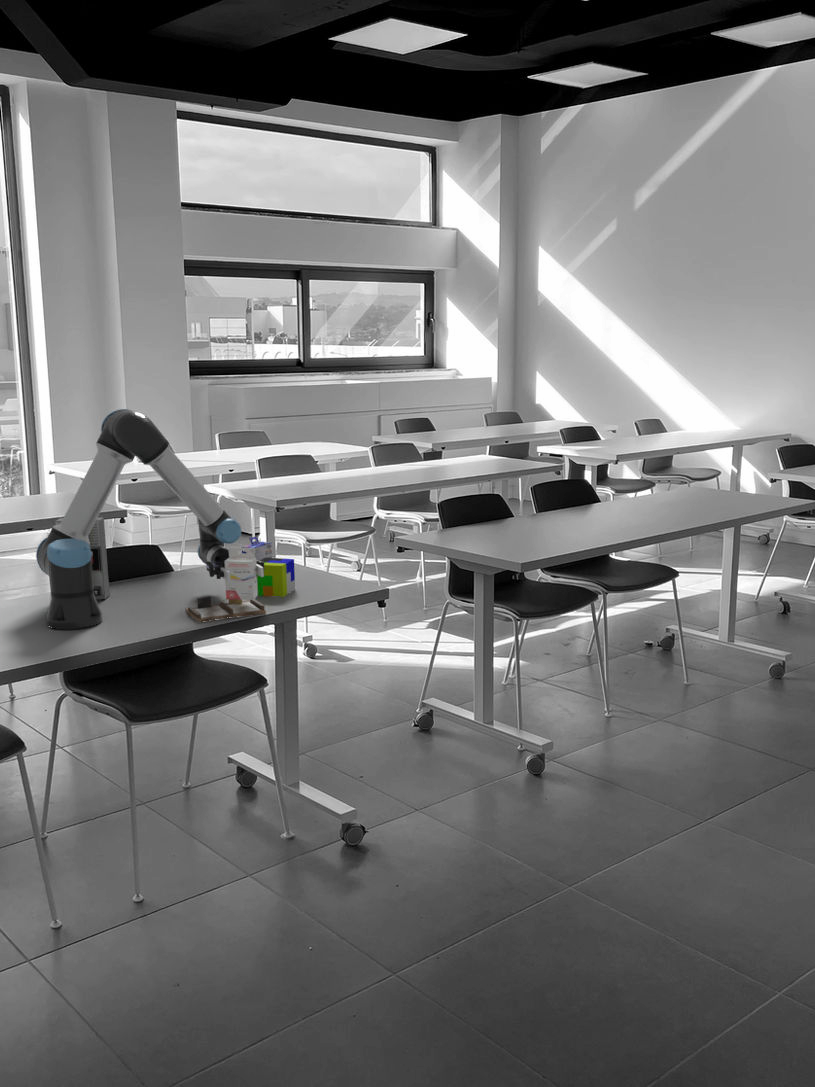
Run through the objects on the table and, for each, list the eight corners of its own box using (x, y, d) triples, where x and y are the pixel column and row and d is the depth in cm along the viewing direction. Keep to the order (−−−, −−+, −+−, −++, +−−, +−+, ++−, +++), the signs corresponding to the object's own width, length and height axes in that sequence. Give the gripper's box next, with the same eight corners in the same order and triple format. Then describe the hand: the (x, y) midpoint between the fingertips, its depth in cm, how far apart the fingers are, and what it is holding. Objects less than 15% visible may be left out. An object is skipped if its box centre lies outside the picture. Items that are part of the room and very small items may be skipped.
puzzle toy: (295, 589, 337) (294, 559, 335) (283, 597, 328) (282, 565, 326) (266, 588, 340) (264, 557, 338) (253, 595, 330) (252, 564, 328)
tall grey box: (60, 601, 327) (53, 521, 322) (66, 596, 333) (59, 518, 328) (104, 600, 327) (98, 520, 322) (110, 595, 333) (104, 517, 328)
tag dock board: (198, 623, 300) (198, 609, 299) (185, 611, 312) (184, 598, 311) (265, 613, 309) (265, 600, 308) (250, 603, 321) (249, 590, 320)
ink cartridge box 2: (225, 600, 309) (222, 550, 306) (230, 595, 314) (227, 547, 311) (254, 600, 308) (251, 550, 305) (258, 595, 313) (255, 547, 310)
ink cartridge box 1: (261, 576, 355) (259, 534, 352) (274, 578, 352) (272, 535, 350) (242, 582, 347) (240, 539, 344) (255, 584, 344) (253, 541, 341)
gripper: (257, 567, 331) (282, 582, 311) (187, 576, 321) (209, 592, 301) (256, 544, 329) (281, 557, 309) (186, 552, 319) (207, 566, 300)
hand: (245, 574), depth 305 cm, fingers closed on ink cartridge box 2, 9 cm apart
